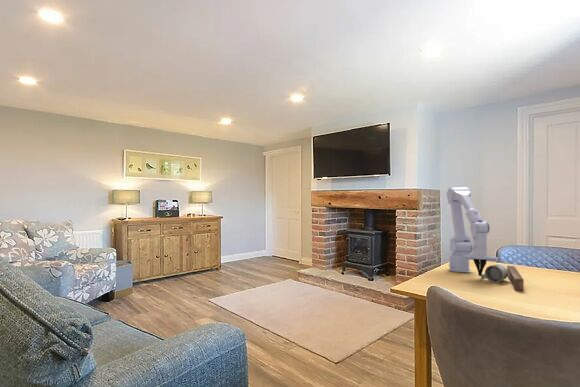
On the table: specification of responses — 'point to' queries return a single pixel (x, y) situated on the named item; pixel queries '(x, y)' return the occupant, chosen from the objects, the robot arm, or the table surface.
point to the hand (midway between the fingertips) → (480, 275)
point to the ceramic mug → (495, 273)
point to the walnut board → (515, 278)
